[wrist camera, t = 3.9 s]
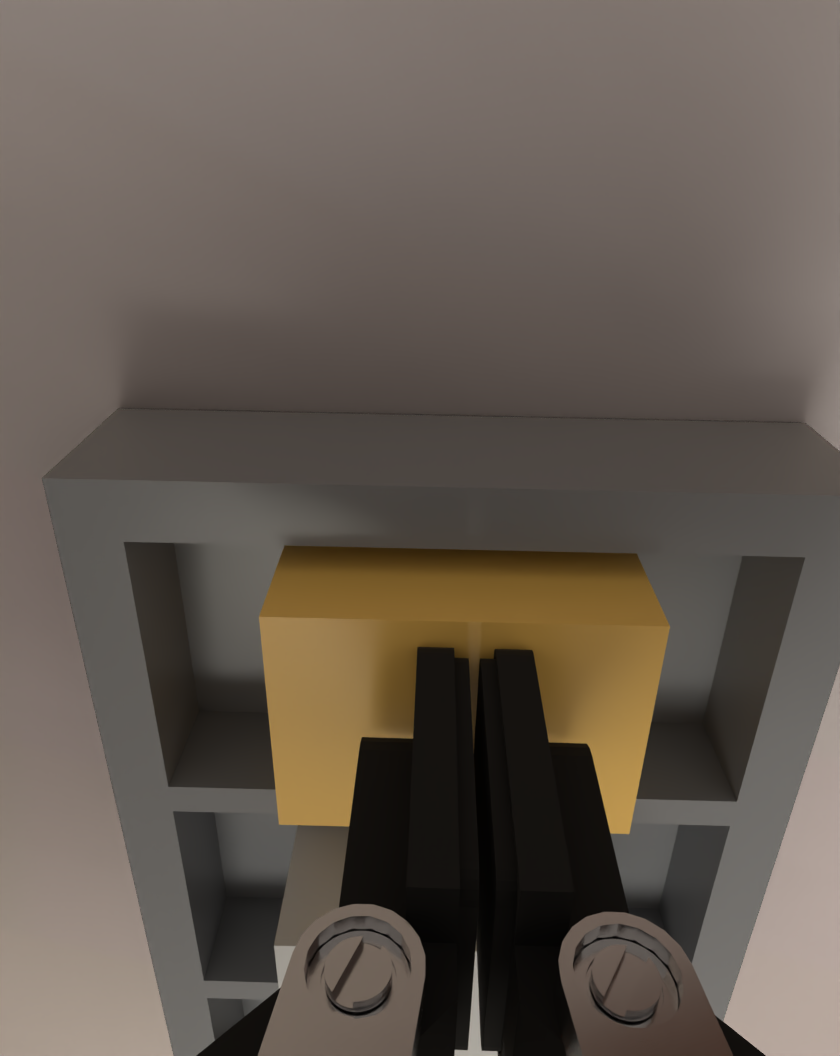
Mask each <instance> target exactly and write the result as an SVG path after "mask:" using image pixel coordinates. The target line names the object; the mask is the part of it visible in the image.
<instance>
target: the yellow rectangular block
mask: <svg viewBox="0 0 840 1056" xmlns="http://www.w3.org/2000/svg"><path fill="white" fill-rule="evenodd" d="M259 623H260V633H261V644H262V654H263V665H264V675H265V685H266V696H267V706H268V716H269V727H270V737H271V747H272V758H273V768H274V778H275V789H276V799H277V810H278V820H279V825H309V826H347V827H349V825H350V817H351V809H352V801H353V794H354V786H355V778H356V771H357V763H358V755H359V748H360V742H361V738H362V737H377V738H412V739H413V732H414V710H415V688H416V666H417V647H444V648H454V656H455V658H469V672H470V692H471V712H472V732H473V752H474V742H475V726H476V710H477V694H478V678H479V663H480V658H481V659H494V650H495V649H519V650H532V651H533V653H534V658H535V664H536V670H537V676H538V682H539V688H540V693H541V699H542V705H543V711H544V717H545V723H546V729H547V734H548V740H549V742H553V743H587V745H588V746H589V747H590V751H591V754H592V757H593V761H594V766H595V770H596V774H597V778H598V783H599V787H600V791H601V795H602V800H603V804H604V808H605V813H606V817H607V821H608V825H609V830H610V834H629V833H630V827H631V822H632V817H633V812H634V807H635V802H636V797H637V792H638V787H639V782H640V777H641V772H642V766H643V761H644V756H645V751H646V746H647V741H648V736H649V731H650V726H651V721H652V716H653V711H654V706H655V700H656V695H657V690H658V685H659V680H660V675H661V670H662V665H663V660H664V655H665V650H666V645H667V640H668V634H669V629H670V625H669V623H668V621H667V619H666V617H665V614H664V612H663V610H662V608H661V606H660V603H659V601H658V599H657V597H656V595H655V593H654V590H653V588H652V586H651V584H650V582H649V579H648V577H647V575H646V573H645V571H644V568H643V566H642V564H641V562H640V560H639V557H638V555H637V554H635V553H592V552H548V551H504V550H460V549H416V548H372V547H329V546H285V545H284V548H283V551H282V554H281V556H280V559H279V562H278V565H277V568H276V570H275V573H274V576H273V579H272V582H271V584H270V587H269V590H268V593H267V596H266V598H265V601H264V604H263V607H262V610H261V612H260V615H259Z"/></svg>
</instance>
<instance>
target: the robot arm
mask: <svg viewBox="0 0 840 1056" xmlns="http://www.w3.org/2000/svg"><path fill="white" fill-rule="evenodd" d="M476 944H477V968H478V991H479V1015H480V1038H481V1049H482V1051H497V1052H498V1056H765V1055H764V1054H763V1053H762V1052H760V1051H759V1050H758V1049H757V1048H755V1047H754V1046H753V1045H752V1044H750V1043H749V1042H748V1041H747V1040H745V1039H744V1038H743V1037H742V1036H740V1035H739V1034H738V1033H737V1032H735V1031H734V1030H733V1029H732V1028H730V1027H729V1026H728V1025H727V1024H725V1023H724V1022H723V1021H722V1020H720V1019H719V1018H718V1017H717V1016H715V1014H714V1012H713V1010H712V1007H711V1005H710V1003H709V1001H708V998H707V996H706V994H705V992H704V990H703V987H702V985H701V983H700V981H699V978H698V976H697V974H696V972H695V970H694V967H693V965H692V964H691V962H690V960H689V959H688V957H687V956H686V954H685V952H684V951H683V949H682V947H681V946H680V945H679V944H678V943H677V942H676V941H675V940H674V939H673V938H672V937H671V936H670V935H669V934H668V933H667V932H666V931H665V930H663V929H661V928H660V927H658V926H656V925H655V924H653V923H651V922H650V921H648V920H646V919H644V918H641V917H638V916H635V915H631V914H629V911H628V906H627V902H626V898H625V894H624V889H623V885H622V881H621V876H620V872H619V868H618V864H617V859H616V855H615V851H614V847H613V842H612V838H611V834H610V830H609V825H608V821H607V817H606V813H605V808H604V804H603V800H602V795H601V791H600V787H599V783H598V778H597V774H596V770H595V766H594V761H593V757H592V754H591V751H590V747H589V746H588V745H587V743H553V742H549V740H548V734H547V729H546V723H545V717H544V711H543V705H542V699H541V693H540V688H539V682H538V676H537V670H536V664H535V658H534V653H533V651H532V650H519V649H495V650H494V659H481V658H480V663H479V678H478V694H477V710H476V726H475V742H474V752H473V732H472V712H471V692H470V672H469V658H455V656H454V648H444V647H417V666H416V688H415V710H414V732H413V739H412V738H377V737H362V738H361V742H360V748H359V755H358V763H357V771H356V778H355V786H354V794H353V801H352V809H351V817H350V825H349V832H348V840H347V848H346V855H345V863H344V871H343V879H342V886H341V894H340V902H339V908H336V909H333V910H331V911H330V912H328V913H326V914H325V915H323V916H321V917H319V918H318V919H316V920H315V921H314V922H313V923H312V924H311V925H310V926H309V927H308V928H307V929H306V930H305V932H304V933H303V934H302V935H301V937H300V939H299V941H298V943H297V945H296V947H295V949H294V951H293V953H292V956H291V959H290V962H289V964H288V967H287V970H286V973H285V976H284V979H283V982H282V985H281V988H279V989H278V990H277V991H276V992H274V993H273V994H272V995H271V996H269V997H268V998H267V999H266V1000H265V1001H263V1002H262V1003H261V1004H260V1005H258V1006H257V1007H256V1008H255V1009H253V1010H252V1011H251V1012H250V1013H248V1014H247V1015H246V1016H245V1017H243V1018H242V1019H241V1020H240V1021H239V1022H237V1023H236V1024H235V1025H234V1026H232V1027H231V1028H230V1029H229V1030H227V1031H226V1032H225V1033H224V1034H222V1035H221V1036H220V1037H219V1038H217V1039H216V1040H215V1041H214V1042H213V1043H211V1044H210V1045H209V1046H208V1047H206V1048H205V1049H204V1050H203V1051H201V1052H200V1053H199V1054H198V1055H196V1056H454V1054H455V1050H468V1042H469V1029H470V1016H471V1002H472V989H473V976H474V963H475V950H476Z"/></svg>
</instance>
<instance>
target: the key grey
mask: <svg viewBox="0 0 840 1056" xmlns="http://www.w3.org/2000/svg"><path fill="white" fill-rule="evenodd" d="M348 832H349V827H347V826H309V825H298V826H297V831H296V837H295V842H294V847H293V852H292V857H291V862H290V867H289V872H288V877H287V882H286V887H285V892H284V897H283V902H282V907H281V912H280V917H279V922H278V928H277V933H276V938H275V943H274V951H275V960H276V969H277V977H278V986H279V988H281V985H282V982H283V979H284V976H285V973H286V970H287V967H288V964H289V962H290V959H291V956H292V953H293V951H294V949H295V947H296V945H297V943H298V941H299V939H300V937H301V935H302V934H303V933H304V932H305V930H306V929H307V928H308V927H309V926H310V925H311V924H312V923H313V922H314V921H315V920H316V919H318V918H319V917H321V916H323V915H325V914H326V913H328V912H330V911H331V910H333V909H336V908H339V902H340V894H341V886H342V879H343V871H344V863H345V855H346V848H347V840H348ZM454 1056H498V1052H497V1051H482V1049H481V1038H480V1015H479V991H478V968H477V944H476V950H475V963H474V976H473V989H472V1002H471V1016H470V1029H469V1042H468V1050H455V1054H454Z"/></svg>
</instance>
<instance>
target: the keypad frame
mask: <svg viewBox="0 0 840 1056" xmlns="http://www.w3.org/2000/svg"><path fill="white" fill-rule="evenodd" d="M42 481H43V485H44V490H45V494H46V498H47V503H48V507H49V512H50V516H51V520H52V525H53V529H54V534H55V538H56V542H57V547H58V551H59V555H60V560H61V564H62V569H63V573H64V577H65V582H66V586H67V590H68V595H69V599H70V604H71V608H72V612H73V617H74V621H75V626H76V630H77V634H78V639H79V643H80V647H81V652H82V656H83V661H84V665H85V669H86V674H87V678H88V682H89V687H90V691H91V696H92V700H93V704H94V709H95V713H96V718H97V722H98V726H99V731H100V735H101V739H102V744H103V748H104V753H105V757H106V761H107V766H108V770H109V774H110V779H111V783H112V788H113V792H114V796H115V801H116V805H117V810H118V814H119V818H120V823H121V827H122V831H123V836H124V840H125V845H126V849H127V853H128V858H129V862H130V866H131V871H132V875H133V880H134V884H135V888H136V893H137V897H138V902H139V906H140V910H141V915H142V919H143V923H144V928H145V932H146V937H147V941H148V945H149V950H150V954H151V959H152V963H153V967H154V972H155V976H156V980H157V985H158V989H159V994H160V998H161V1002H162V1007H163V1011H164V1015H165V1020H166V1024H167V1029H168V1033H169V1037H170V1042H171V1046H172V1051H173V1055H174V1056H196V1055H198V1054H199V1053H200V1052H201V1051H203V1050H204V1049H205V1048H206V1047H208V1046H209V1045H210V1044H211V1043H213V1042H214V1041H215V1040H216V1039H217V1038H219V1037H220V1036H221V1035H222V1034H224V1033H225V1032H226V1031H227V1030H229V1029H230V1028H231V1027H232V1026H234V1025H235V1024H236V1023H237V1022H239V1021H240V1020H241V1019H242V1018H243V1017H245V1016H246V1015H247V1014H248V1013H250V1012H251V1011H252V1010H253V1009H255V1008H256V1007H257V1006H258V1005H260V1004H261V1003H262V1002H263V1001H265V1000H266V999H267V998H268V997H269V996H271V995H272V994H273V993H274V992H276V991H277V990H278V989H279V986H278V977H277V969H276V960H275V951H274V943H275V938H276V933H277V928H278V922H279V917H280V912H281V907H282V902H283V897H284V892H285V887H286V882H287V877H288V872H289V867H290V862H291V857H292V852H293V847H294V842H295V837H296V831H297V826H298V825H279V820H278V810H277V799H276V789H275V778H274V768H273V758H272V747H271V737H270V727H269V716H268V706H267V696H266V685H265V675H264V665H263V654H262V644H261V633H260V623H259V615H260V612H261V610H262V607H263V604H264V601H265V598H266V596H267V593H268V590H269V587H270V584H271V582H272V579H273V576H274V573H275V570H276V568H277V565H278V562H279V559H280V556H281V554H282V551H283V548H284V545H285V546H329V547H372V548H416V549H460V550H504V551H548V552H592V553H635V554H637V555H638V557H639V560H640V562H641V564H642V566H643V568H644V571H645V573H646V575H647V577H648V579H649V582H650V584H651V586H652V588H653V590H654V593H655V595H656V597H657V599H658V601H659V603H660V606H661V608H662V610H663V612H664V614H665V617H666V619H667V621H668V623H669V625H670V629H669V634H668V640H667V645H666V650H665V655H664V660H663V665H662V670H661V675H660V680H659V685H658V690H657V695H656V700H655V706H654V711H653V716H652V721H651V726H650V731H649V736H648V741H647V746H646V751H645V756H644V761H643V766H642V772H641V777H640V782H639V787H638V792H637V797H636V802H635V807H634V812H633V817H632V822H631V827H630V833H629V834H611V838H612V842H613V847H614V851H615V855H616V859H617V864H618V868H619V872H620V876H621V881H622V885H623V889H624V894H625V898H626V902H627V906H628V911H629V914H631V915H635V916H638V917H641V918H644V919H646V920H648V921H650V922H651V923H653V924H655V925H656V926H658V927H660V928H661V929H663V930H665V931H666V932H667V933H668V934H669V935H670V936H671V937H672V938H673V939H674V940H675V941H676V942H677V943H678V944H679V945H680V946H681V947H682V949H683V951H684V952H685V954H686V956H687V957H688V959H689V960H690V962H691V964H692V965H693V967H694V970H695V972H696V974H697V976H698V978H699V981H700V983H701V985H702V987H703V990H704V992H705V994H706V996H707V998H708V1001H709V1003H710V1005H711V1007H712V1010H713V1012H714V1014H715V1016H717V1017H718V1018H719V1019H720V1020H722V1021H723V1020H724V1017H725V1014H726V1011H727V1008H728V1004H729V1001H730V998H731V995H732V992H733V989H734V986H735V983H736V980H737V977H738V974H739V971H740V968H741V965H742V962H743V959H744V956H745V953H746V949H747V946H748V943H749V940H750V937H751V934H752V931H753V928H754V925H755V922H756V919H757V916H758V913H759V910H760V907H761V904H762V901H763V897H764V894H765V891H766V888H767V885H768V882H769V879H770V876H771V873H772V870H773V867H774V864H775V861H776V858H777V855H778V852H779V849H780V846H781V842H782V839H783V836H784V833H785V830H786V827H787V824H788V821H789V818H790V815H791V812H792V809H793V806H794V803H795V800H796V797H797V794H798V791H799V787H800V784H801V781H802V778H803V775H804V772H805V769H806V766H807V763H808V760H809V757H810V754H811V751H812V748H813V745H814V742H815V739H816V735H817V732H818V729H819V726H820V723H821V720H822V717H823V714H824V711H825V708H826V705H827V702H828V699H829V696H830V693H831V690H832V687H833V684H834V680H835V677H836V674H837V671H838V668H839V665H840V451H839V450H837V449H836V448H835V447H834V446H833V445H831V444H830V443H829V442H828V441H827V440H825V439H824V438H823V437H822V436H821V435H819V434H818V433H817V432H816V431H815V430H813V429H812V428H811V427H810V426H809V425H807V424H806V423H782V422H734V421H686V420H639V419H591V418H543V417H496V416H448V415H400V414H353V413H305V412H257V411H209V410H162V409H117V410H116V411H115V412H114V413H113V414H112V415H111V416H110V417H109V418H107V419H106V420H105V421H104V422H103V423H102V424H101V425H100V426H99V427H98V428H96V429H95V430H94V431H93V432H92V433H91V434H90V435H89V436H88V437H87V438H86V439H84V440H83V441H82V442H81V443H80V444H79V445H78V446H77V447H76V448H75V449H73V450H72V451H71V452H70V453H69V454H68V455H67V456H66V457H65V458H64V459H62V460H61V461H60V462H59V463H58V464H57V465H56V466H55V467H54V468H53V469H51V470H50V471H49V472H48V473H47V474H46V475H45V476H44V477H43V478H42Z"/></svg>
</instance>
